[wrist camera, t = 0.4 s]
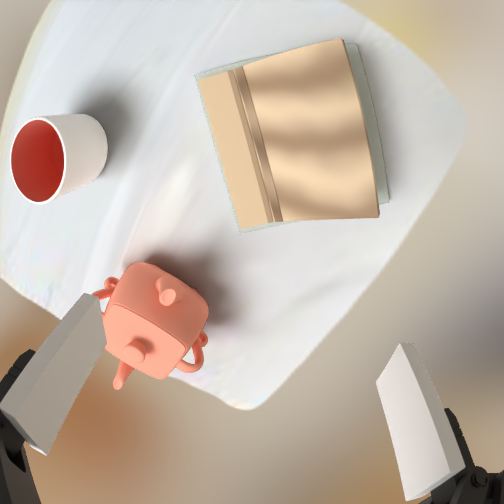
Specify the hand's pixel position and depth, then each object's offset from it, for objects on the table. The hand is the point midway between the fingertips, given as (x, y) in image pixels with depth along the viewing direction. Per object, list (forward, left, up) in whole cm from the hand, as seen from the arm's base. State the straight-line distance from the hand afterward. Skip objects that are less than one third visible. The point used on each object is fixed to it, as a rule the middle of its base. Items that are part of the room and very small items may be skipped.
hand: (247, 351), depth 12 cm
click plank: (-6, +7, -22) cm, 24 cm away
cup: (-13, -22, -26) cm, 36 cm away
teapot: (+11, -18, -26) cm, 33 cm away
